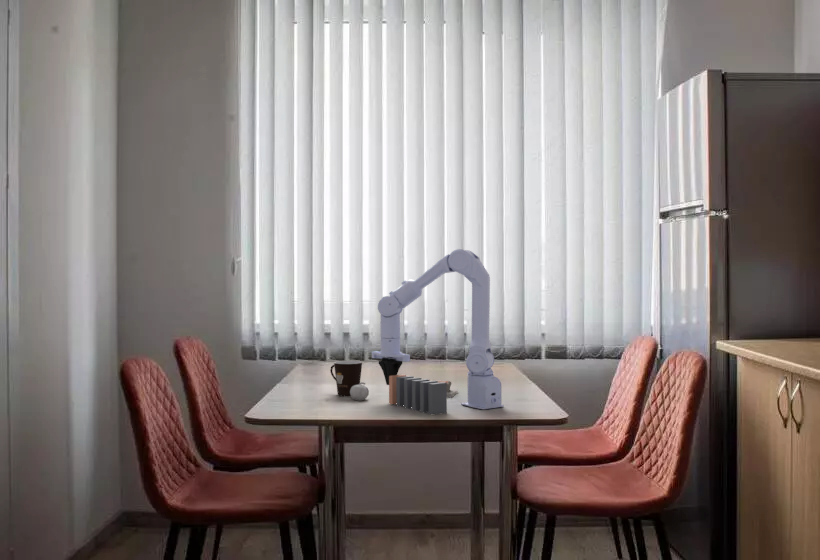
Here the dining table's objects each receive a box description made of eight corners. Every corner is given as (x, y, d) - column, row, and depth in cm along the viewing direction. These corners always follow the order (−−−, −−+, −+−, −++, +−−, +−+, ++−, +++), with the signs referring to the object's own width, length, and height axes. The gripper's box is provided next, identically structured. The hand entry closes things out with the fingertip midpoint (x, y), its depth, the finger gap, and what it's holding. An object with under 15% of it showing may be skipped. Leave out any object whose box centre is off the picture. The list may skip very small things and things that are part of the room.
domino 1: (406, 403, 211) (406, 375, 211) (392, 404, 208) (392, 376, 208) (403, 402, 212) (403, 374, 212) (389, 403, 210) (389, 375, 209)
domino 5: (438, 410, 198) (437, 381, 198) (423, 412, 196) (423, 382, 196) (434, 409, 200) (434, 380, 200) (420, 411, 197) (420, 381, 197)
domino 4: (429, 408, 202) (429, 379, 202) (415, 410, 199) (415, 381, 199) (426, 407, 203) (426, 378, 203) (412, 409, 200) (411, 380, 200)
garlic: (373, 399, 218) (373, 381, 218) (362, 402, 213) (362, 384, 213) (357, 397, 221) (356, 380, 221) (345, 400, 216) (345, 382, 216)
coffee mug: (366, 396, 223) (365, 363, 223) (338, 397, 220) (338, 364, 220) (354, 390, 234) (354, 359, 234) (328, 392, 231) (328, 360, 231)
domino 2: (413, 404, 208) (413, 376, 208) (399, 406, 205) (399, 377, 205) (410, 404, 209) (410, 375, 209) (396, 405, 206) (396, 377, 206)
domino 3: (421, 406, 205) (421, 378, 205) (407, 408, 202) (407, 379, 202) (418, 405, 206) (418, 377, 206) (404, 407, 203) (404, 378, 203)
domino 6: (446, 412, 195) (446, 382, 195) (432, 414, 193) (432, 384, 193) (443, 412, 197) (442, 382, 197) (428, 413, 194) (428, 383, 194)
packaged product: (394, 380, 225) (403, 376, 235) (394, 396, 225) (403, 391, 235) (451, 382, 220) (458, 378, 230) (451, 399, 220) (458, 393, 230)
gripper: (417, 338, 211) (417, 385, 211) (384, 335, 221) (384, 380, 221) (399, 339, 206) (399, 388, 206) (366, 337, 216) (366, 383, 216)
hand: (390, 384), depth 213 cm, fingers closed
